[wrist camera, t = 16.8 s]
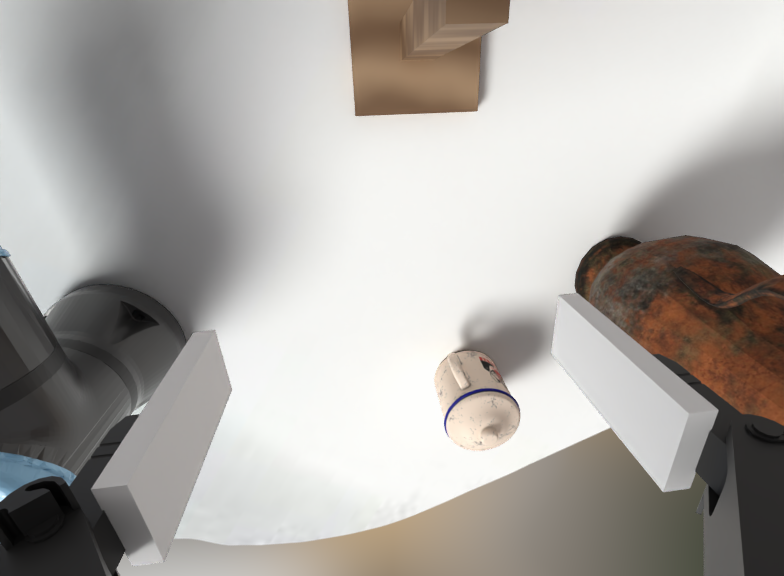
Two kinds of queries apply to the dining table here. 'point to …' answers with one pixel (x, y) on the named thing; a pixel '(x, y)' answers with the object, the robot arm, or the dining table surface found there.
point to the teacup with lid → (475, 401)
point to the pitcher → (697, 312)
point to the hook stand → (419, 53)
